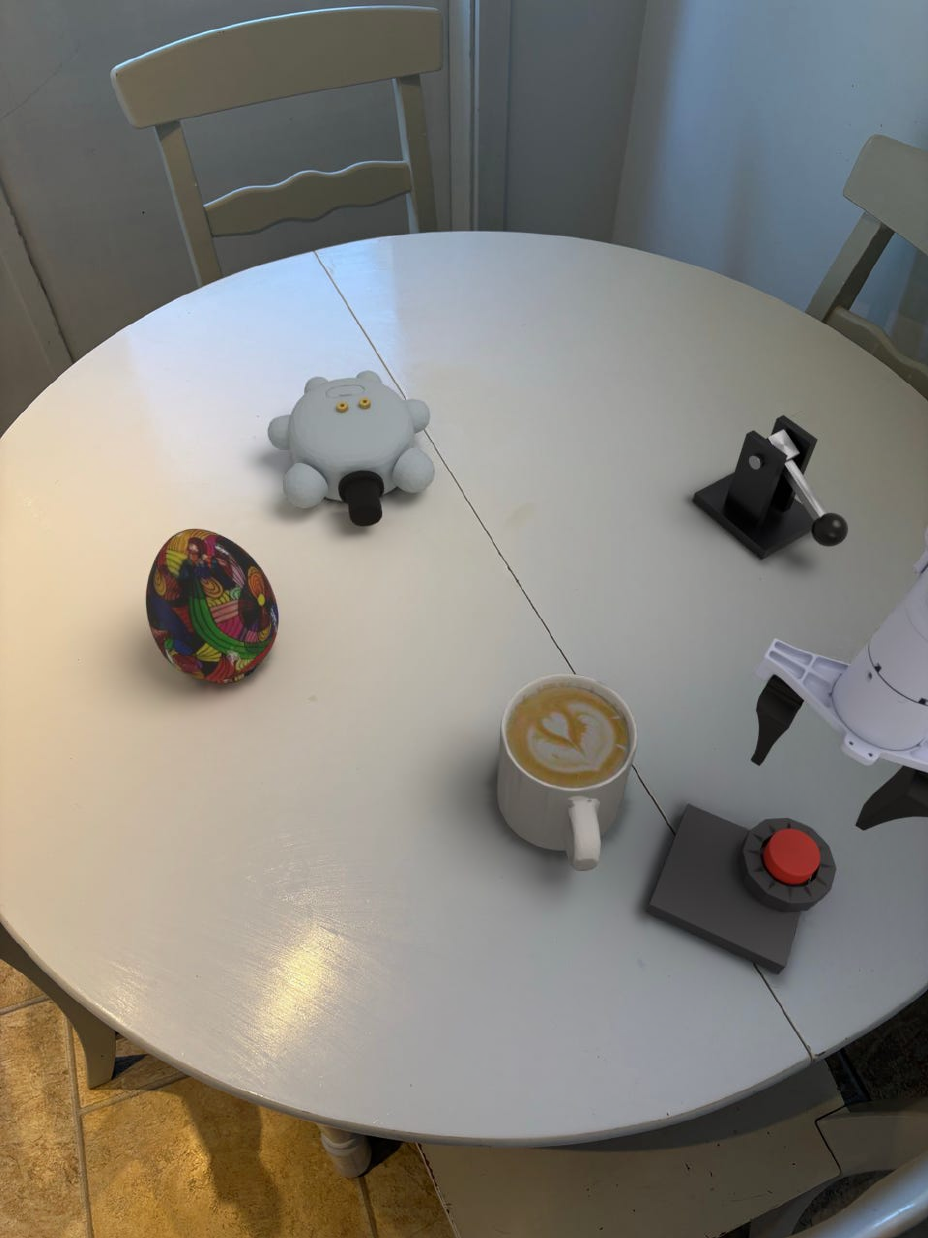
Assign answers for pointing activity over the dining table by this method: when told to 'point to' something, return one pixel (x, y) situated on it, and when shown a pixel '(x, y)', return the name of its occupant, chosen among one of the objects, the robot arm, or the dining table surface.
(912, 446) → the dining table surface
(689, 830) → the button block
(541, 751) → the coffee mug
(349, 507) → the figurine
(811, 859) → the button
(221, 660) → the egg
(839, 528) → the lever
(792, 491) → the bracket
